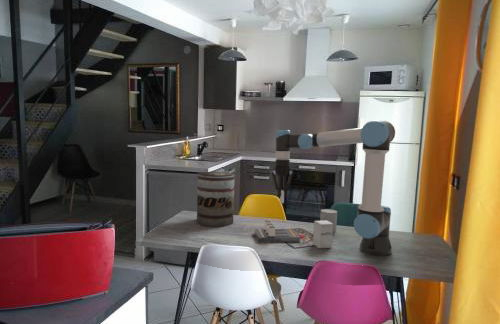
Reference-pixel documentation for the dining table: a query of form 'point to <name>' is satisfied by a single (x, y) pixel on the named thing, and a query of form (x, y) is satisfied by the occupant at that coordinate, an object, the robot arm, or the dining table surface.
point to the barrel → (215, 199)
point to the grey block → (329, 217)
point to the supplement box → (323, 234)
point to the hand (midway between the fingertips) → (281, 202)
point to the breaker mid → (268, 226)
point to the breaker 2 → (271, 231)
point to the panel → (277, 236)
